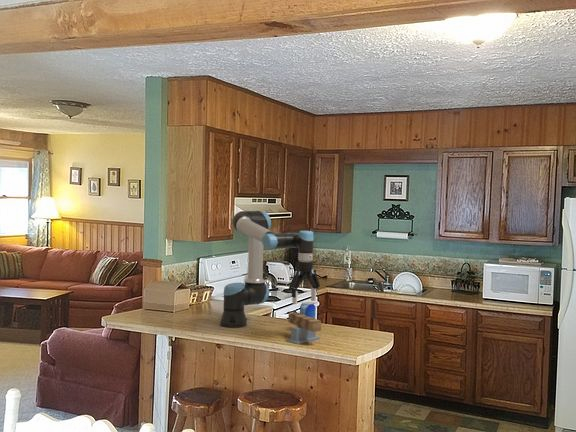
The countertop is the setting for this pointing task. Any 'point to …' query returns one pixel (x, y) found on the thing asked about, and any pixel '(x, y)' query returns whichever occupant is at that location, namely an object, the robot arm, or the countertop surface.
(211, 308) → the countertop surface
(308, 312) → the beer can
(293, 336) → the fulcrum block
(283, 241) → the robot arm
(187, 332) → the countertop surface
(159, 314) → the countertop surface
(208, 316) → the countertop surface
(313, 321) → the walnut bar
